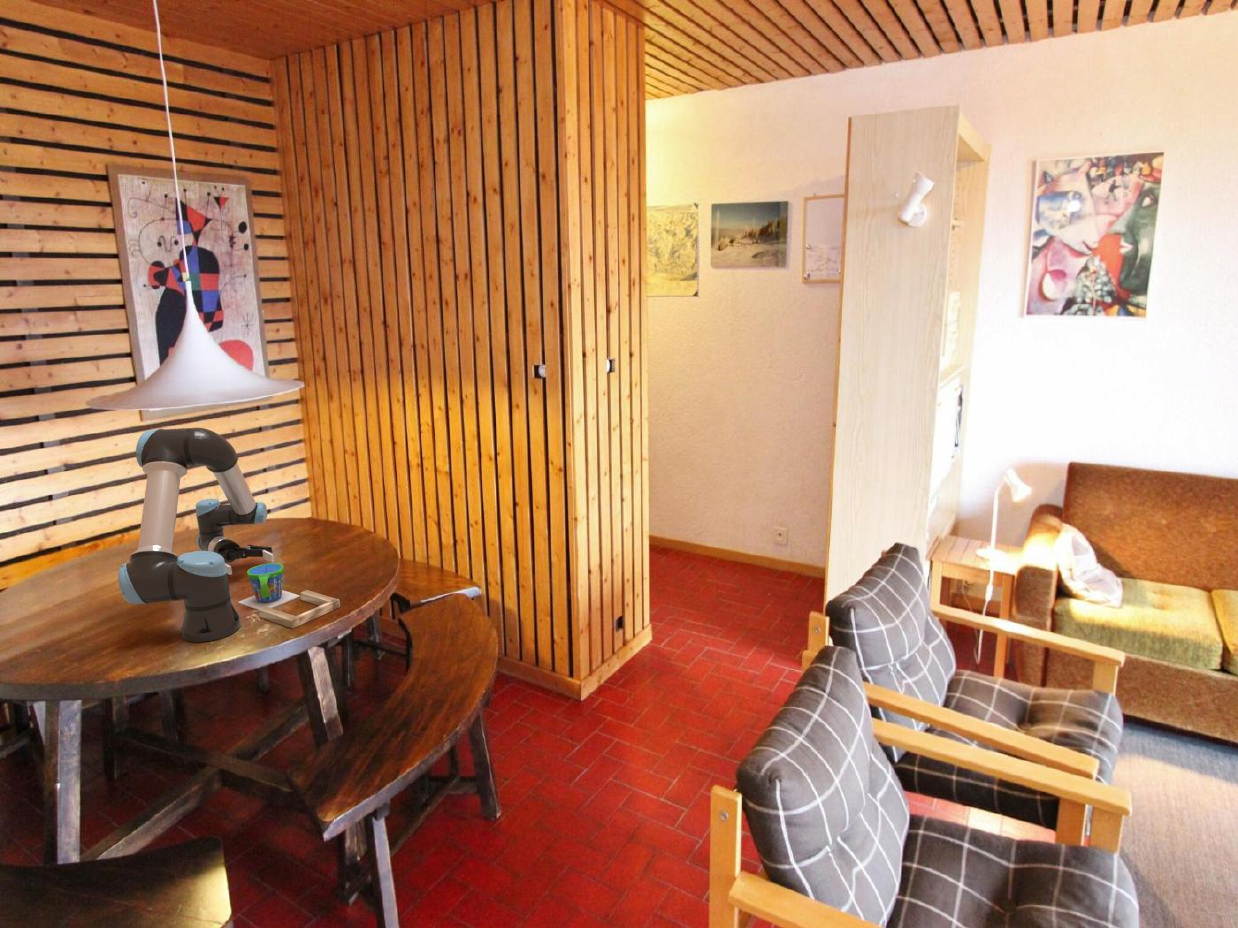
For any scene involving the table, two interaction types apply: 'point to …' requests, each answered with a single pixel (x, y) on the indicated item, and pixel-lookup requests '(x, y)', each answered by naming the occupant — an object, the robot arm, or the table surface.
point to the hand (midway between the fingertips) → (252, 564)
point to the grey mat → (258, 605)
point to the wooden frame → (292, 621)
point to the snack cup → (266, 581)
